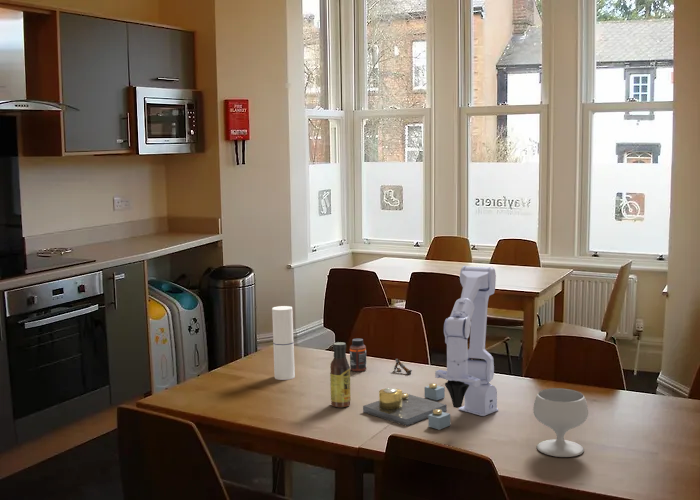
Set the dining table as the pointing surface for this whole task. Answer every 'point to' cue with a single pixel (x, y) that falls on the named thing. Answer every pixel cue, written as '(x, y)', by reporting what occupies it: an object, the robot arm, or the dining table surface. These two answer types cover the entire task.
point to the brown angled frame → (401, 367)
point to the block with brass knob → (439, 419)
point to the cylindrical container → (283, 342)
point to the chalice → (560, 419)
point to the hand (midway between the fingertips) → (457, 406)
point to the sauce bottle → (340, 377)
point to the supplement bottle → (357, 355)
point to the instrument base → (402, 407)
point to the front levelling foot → (434, 391)
